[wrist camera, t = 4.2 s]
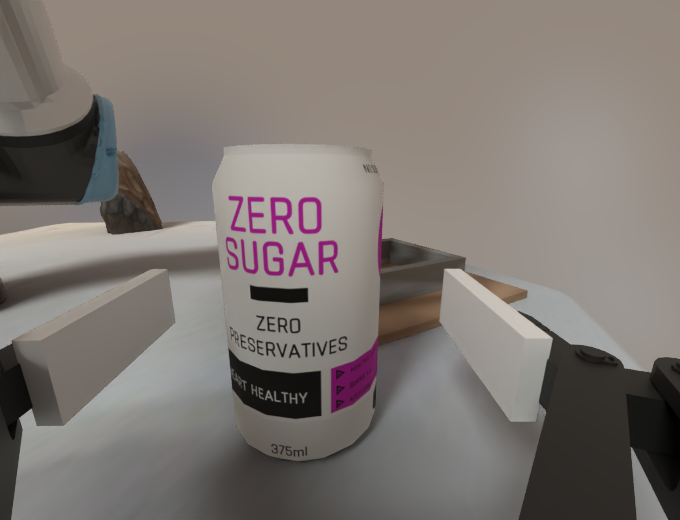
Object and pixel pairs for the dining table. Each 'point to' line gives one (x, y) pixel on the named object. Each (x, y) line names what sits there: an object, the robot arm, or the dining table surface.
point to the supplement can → (300, 293)
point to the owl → (130, 202)
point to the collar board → (420, 288)
